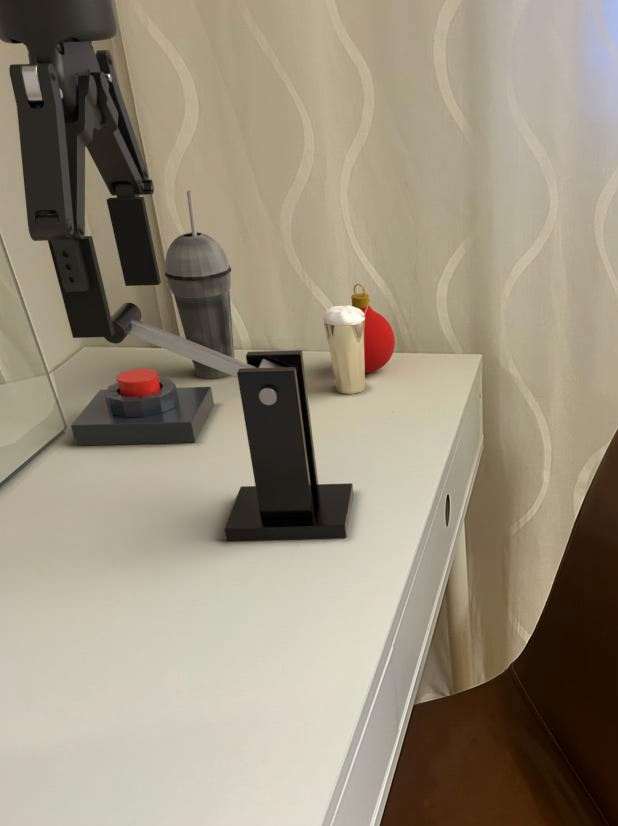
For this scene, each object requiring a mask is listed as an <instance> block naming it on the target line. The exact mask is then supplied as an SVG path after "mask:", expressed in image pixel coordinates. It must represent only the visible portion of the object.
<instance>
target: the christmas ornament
mask: <svg viewBox="0 0 618 826" xmlns="http://www.w3.org/2000/svg"><path fill="white" fill-rule="evenodd" d="M357 286H359V287H361V289H362V293H357V291H356V287H357ZM353 293H354V294H352V295H351V296H350V298H351V306H353V307H356V308H358V309H360V310H361V311H362V312H363V313H364V314H365V312H366V309H367V306H368V303H369V300H370V295H369V293H366V291H365V288H364V285H363V284H361V283H357V284H355V285H354V287H353ZM395 339H396V338H395V333H394V330H393V327H392V326H391V324H390V323H389V321H388V320H387V319H386V318H385V317H384V316H383V315H382V314H381V313H379V312H377V311H375V310H374V309H373V308H372V307H371V304H370V303H369V306H368V309H367V312H366V315H365V344H364V357H365V374H367V373H373V372H377V371H379V370H380V369H382V368H383V367H384V366H386V364H388V362H389V361H391V358H392V356H393V353H394V350H395V347H396V346H395V344H396V340H395Z"/></svg>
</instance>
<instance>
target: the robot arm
mask: <svg viewBox="0 0 618 826" xmlns="http://www.w3.org/2000/svg"><path fill="white" fill-rule="evenodd" d="M112 1H113V0H0V41H2V42H3V43H5V44H11V45H14V44H15V45H17V44H23V45H24V46H25V47H26V50H27V58H28V63H17V64H16V63H15V64H14V63H13V64H9V69H8V71H9V77H10V82H11V86H12V91H13V97H14V101H15V106H16V112H17V113H16V114H17V124H18V133H19V145H20V154H21V165H22V167H21V168H22V176H23V187H24V188H23V189H24V197H25V198H24V199H25V208H26V209H25V210H26V220H27V227H28V234H29V236H30V239H31V240H32V241H34V242H44V241H46V242H47V243H48V247H49V251H50V254H51V255H50V256H51V260H52V262H53V267H54V270H55V274H56V278H57V282H58V286H59V289H60V294H61V297H62V301H63V304H64V308H65V312H66V317H67V321H68V324H69V328H70V332H71V335H72V338H73V339H85V338H87V339H89V338H104V337H112V336H113V335H114V334H115V332H114V328H113V324H112V319H111V316H112V315H111V312H110V308H109V307H110V306H109V303H108V299H107V293H106V290H105V286H104V282H103V277H102V273H101V269H100V268H101V267H100V264H99V260H98V256H97V251H96V247H95V243H94V238H93V236H92V235H86V233H85V232H86V150H88V153H89V155H90V157H91V159H92V161H93V163H94V164H95V166H96V168H97V171H98V172H99V175H100V176H101V178H102V180H103V182H104V184H105V186H106V188H107V190H108V191H109V194H110V195H111V196H113V197H108V198H107V199H106V204H107V209H108V213H109V219H110V223H111V226H112V231H113V235H114V240H115V245H116V249H117V254H118V259H119V264H120V267H121V271H122V276H123V277H122V278H123V281H124V285H125V287H134V286H135V287H138V286H139V287H140V286H160V284H161V283H162V280H161V275H160V270H159V265H158V261H157V256H156V251H155V246H154V241H153V236H152V231H151V226H150V220H149V216H148V211H147V206H146V200H145V197H144V195H145V196H147V195H154V193H155V188H154V182H153V179H149V170H148V168H147V166H146V162H145V160H144V157H143V154H142V151H141V147H140V145H139V142H138V139H137V136H136V134H135V131H134V127H133V124H132V122H131V119H130V115H129V112H128V110H127V106H126V104H125V100H124V98H123V95H122V92H121V88H120V85H119V82H118V78H117V74H116V70H115V69H116V68H115V66H114V59H113V56H112V54H111V51H110V50H109V49H94V46H93V45H92V42H97V41H106V40H110V39H113V38H114V37H115V36H116V35H117V32H118V26H117V22H116V17H115V12H114V7H113V2H112ZM141 195H142V196H141ZM115 196H116V197H115Z"/></svg>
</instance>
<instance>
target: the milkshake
mask: <svg viewBox="0 0 618 826" xmlns="http://www.w3.org/2000/svg"><path fill="white" fill-rule="evenodd" d="M370 303H371V299H370V298H369V303H368V306H370V305H369V304H370ZM368 306H367V309H368ZM367 309H366V312H367ZM366 312H365V314H364V313H363V312H362V311H361V310H360V309H358V308H356V307H353V306H352V305H350V304H349V305H348V304H347V305H334V306H331V307H329V308H328V309H327V310H326V311H325V312H324V314H323V317H322V321H323V326H324V332H325V336H326V341H327V345H328V349H329V352H330V354H329V355H330V360H331V365H332V370H333V376H334V382H335V387H336V391H337V392H338V393H341V394H345V395H346V394H348V395H353V394H358V393H361V392H363V391H364V390H365V389H366V375H365V374H366V373H365V357H364V344H365V315H366Z"/></svg>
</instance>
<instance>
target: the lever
mask: <svg viewBox="0 0 618 826" xmlns="http://www.w3.org/2000/svg"><path fill="white" fill-rule="evenodd" d="M142 317H143V316H142V311H141V309H140V307H139V306H138V305H136V304H135V303H133V302H125V303H123V304H121V306H120V307H119V308H118V309H116V311H114V313H113V314H112V315H111V319H112V324H113V328H114V332H115V334H114V335H113V336H112V337H103V338H104V339H105V340H106V341H107V342H109V343H111V344H113V345H114V344H115V345H116V344H121V343H122V342H123V341H124V340H125V339H126V338H127V337H128V335H129V336H131V337H134V338H137V339H139V340H141V341H144V342H146V343H148V344H151V345H154V346H156V347H159V348H161V349H164V350H166V351H169V352H172V353H174V354H177V355H179V356H182V357H184V358H186V359H189V360H191V361H192V360H194V361H197V362H199V363H202V364H204V365H207V366H209V367H212V368H214V369H217V370H219V371H222V372H224V373H227V374H229V376H232V377H235V378H237V379H238V376H237V372H238V370H239V369H242V368H256V367H254V366H252V365H249V364H247V362H244V361H241V360H239V359H237V358H235V357H234V358H232V357H229V356H227V355H224V354H222V353H219V352H217V351H214V350H212V349H209V348H207V347H204V346H202V345H199V344H197V343H194V342H192V341H189V340H187V339H186V338H184V337H182V336H179V335H177V334H175V333H172V332H170V331H167V330H164V329H162V328H160V327H157V326H155V325H152V324H150V323H147V322H145V321H142ZM280 367H283V366H280V365H278V364H275V363H273V362H270V361H268V360H265V359H262V362H261V364H260V366H259V368H280Z"/></svg>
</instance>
